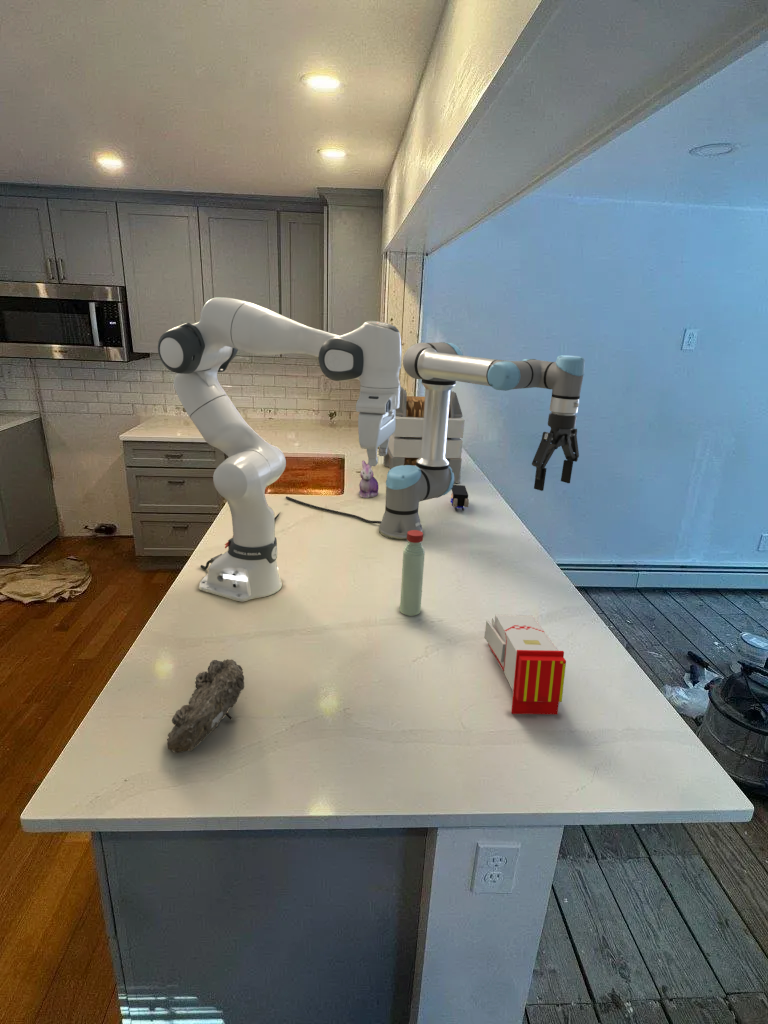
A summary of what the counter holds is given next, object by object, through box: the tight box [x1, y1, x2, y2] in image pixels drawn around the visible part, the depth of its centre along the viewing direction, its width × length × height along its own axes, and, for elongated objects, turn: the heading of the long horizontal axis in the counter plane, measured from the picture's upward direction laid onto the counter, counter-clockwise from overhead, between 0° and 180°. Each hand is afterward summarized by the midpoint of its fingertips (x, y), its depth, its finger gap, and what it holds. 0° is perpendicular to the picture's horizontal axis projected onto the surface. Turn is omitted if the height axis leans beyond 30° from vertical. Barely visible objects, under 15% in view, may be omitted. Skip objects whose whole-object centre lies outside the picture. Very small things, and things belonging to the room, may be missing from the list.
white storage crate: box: [383, 385, 465, 484], centre depth 268 cm, size 34×33×41 cm
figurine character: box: [449, 484, 470, 512], centre depth 229 cm, size 7×8×15 cm
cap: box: [406, 530, 424, 543], centre depth 142 cm, size 4×4×2 cm
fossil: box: [166, 658, 245, 754], centre depth 106 cm, size 22×10×15 cm
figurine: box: [358, 460, 380, 499], centre depth 237 cm, size 9×10×15 cm
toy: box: [484, 614, 567, 716], centre depth 124 cm, size 12×13×30 cm
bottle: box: [399, 541, 426, 617], centre depth 146 cm, size 5×5×22 cm
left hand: (378, 460), depth 129 cm, fingers open, 8 cm apart
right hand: (552, 485), depth 166 cm, fingers open, 13 cm apart
